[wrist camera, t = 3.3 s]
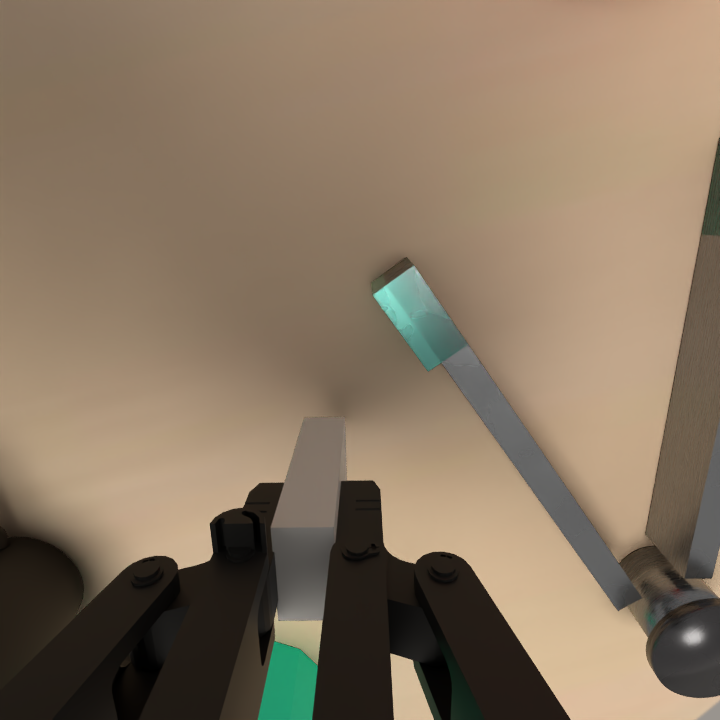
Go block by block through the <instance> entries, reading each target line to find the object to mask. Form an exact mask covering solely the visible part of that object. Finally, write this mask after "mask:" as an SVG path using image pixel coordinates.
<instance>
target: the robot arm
mask: <svg viewBox="0 0 720 720" xmlns="http://www.w3.org/2000/svg"><path fill="white" fill-rule="evenodd" d="M210 530H211V538H212V546H213V555H212V557H211V559H210V561H208V562H205V563H203V564H199V565H196V566H192V567H188V568H183V569H179V570H178V565H177V563H176V562H175V561H174V560H173V559H172V558H169V557H166V556H152V557H148V558H144V559H141V560H139V561H137V562H135V563H132V564H131V565H130V566H128V567H127V568H126V569H124V570H123V571H122V572H121V573H120V574H119V575H118V576H117V577H116V578H115V579H114V580H113V581H112V582H111V583H110V584H109V585H108V586H107V587H106V588H105V589H104V590H103V591H102V592H101V593H99V594H98V595H97V596H96V597H95V598H94V599H93V600H92V601H91V602H90V603H89V604H88V605H87V606H86V607H85V608H84V609H83V610H82V611H81V612H80V613H79V614H78V615H77V616H76V617H75V618H74V619H73V620H72V621H71V622H70V623H69V624H68V625H67V626H66V627H65V628H64V629H63V630H62V631H61V632H60V633H59V634H57V635H56V636H55V637H54V638H53V639H52V640H51V641H50V642H49V643H48V644H47V645H46V646H45V647H44V648H43V649H42V650H41V651H40V652H39V653H38V654H37V655H36V656H35V657H34V658H33V659H32V660H31V661H30V662H29V663H28V664H27V665H26V666H25V667H24V668H23V669H22V670H21V671H20V672H19V673H18V674H17V675H15V676H14V677H13V678H12V679H11V680H10V681H9V682H8V683H7V684H6V685H5V686H4V687H3V688H2V689H1V690H0V720H258V716H259V711H260V706H261V702H262V697H263V692H264V687H265V683H266V678H267V673H268V668H269V664H270V659H271V654H272V650H273V645H274V640H275V629H274V617H275V613H276V608H277V611H278V621H304V620H323V623H322V632H321V641H320V651H319V660H318V669H317V678H316V688H315V697H314V706H313V715H312V720H394V715H393V697H392V678H391V660H390V653H392V654H395V655H398V656H401V657H405V658H408V659H411V660H413V662H414V668H415V671H416V673H417V676H418V678H419V681H420V684H421V686H422V689H423V692H424V694H425V697H426V699H427V702H428V705H429V707H430V710H431V713H432V715H433V718H434V720H570V718H569V716H568V715H567V713H566V712H565V710H564V709H563V707H562V706H561V704H560V703H559V701H558V700H557V698H556V697H555V695H554V694H553V692H552V690H551V689H550V687H549V686H548V684H547V683H546V681H545V680H544V678H543V677H542V675H541V674H540V672H539V671H538V669H537V667H536V666H535V664H534V663H533V661H532V660H531V658H530V657H529V655H528V654H527V652H526V651H525V649H524V648H523V646H522V645H521V643H520V641H519V640H518V638H517V637H516V635H515V634H514V632H513V631H512V629H511V628H510V626H509V625H508V623H507V622H506V620H505V618H504V617H503V615H502V614H501V612H500V611H499V609H498V608H497V606H496V605H495V603H494V602H493V600H492V599H491V597H490V596H489V594H488V592H487V591H486V589H485V588H484V586H483V585H482V583H481V582H480V580H479V579H478V577H477V576H476V574H475V573H474V571H473V570H472V568H471V566H470V565H469V564H468V563H467V562H466V561H465V560H464V559H462V558H461V557H459V556H457V555H455V554H451V553H447V552H432V553H429V554H426V555H423V556H422V557H421V558H420V559H418V560H417V562H416V564H413V563H409V562H405V561H402V560H399V559H397V558H396V557H394V556H392V555H391V554H390V553H389V552H388V551H387V550H386V548H385V547H384V543H383V530H382V512H381V494H380V489H379V487H378V486H377V485H376V484H375V482H374V481H347V466H346V433H345V417H304V420H303V423H302V426H301V430H300V433H299V436H298V440H297V443H296V446H295V449H294V453H293V456H292V459H291V463H290V466H289V469H288V472H287V476H286V479H285V482H284V483H259V484H258V485H257V486H256V487H255V488H254V489H253V490H251V491H250V492H249V495H248V497H247V500H246V502H245V505H244V507H243V508H237V509H232V510H229V511H226V512H223V513H221V514H220V515H218V516H217V517H215V518H214V519H213V521H212V522H211V523H210Z"/></svg>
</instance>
